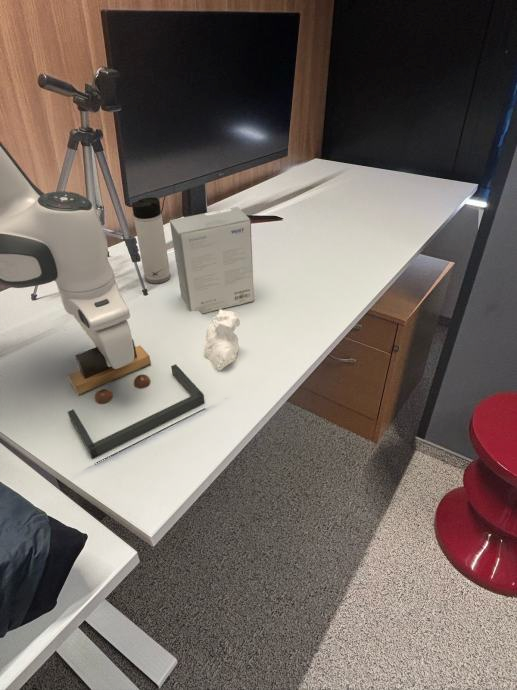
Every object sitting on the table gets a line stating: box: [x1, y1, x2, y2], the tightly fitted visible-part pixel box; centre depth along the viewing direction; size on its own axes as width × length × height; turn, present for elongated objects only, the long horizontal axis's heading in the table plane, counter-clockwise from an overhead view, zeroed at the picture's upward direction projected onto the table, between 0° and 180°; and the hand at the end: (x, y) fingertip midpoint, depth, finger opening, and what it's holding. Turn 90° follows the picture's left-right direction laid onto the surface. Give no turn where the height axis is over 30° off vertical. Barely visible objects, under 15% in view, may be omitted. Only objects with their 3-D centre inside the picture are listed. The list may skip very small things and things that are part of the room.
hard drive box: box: [168, 206, 255, 315], centre depth 104 cm, size 16×8×20 cm, turn 113°
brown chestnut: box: [94, 388, 114, 405], centre depth 84 cm, size 3×3×3 cm
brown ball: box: [133, 373, 151, 390], centre depth 87 cm, size 3×3×3 cm
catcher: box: [67, 363, 206, 465], centre depth 81 cm, size 20×10×4 cm, turn 126°
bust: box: [203, 309, 241, 372], centre depth 92 cm, size 12×8×11 cm
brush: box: [67, 338, 152, 397], centre depth 87 cm, size 14×4×7 cm, turn 126°
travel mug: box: [131, 197, 171, 285], centre depth 113 cm, size 6×7×20 cm
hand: (107, 358), depth 87 cm, fingers closed on brush, 2 cm apart
